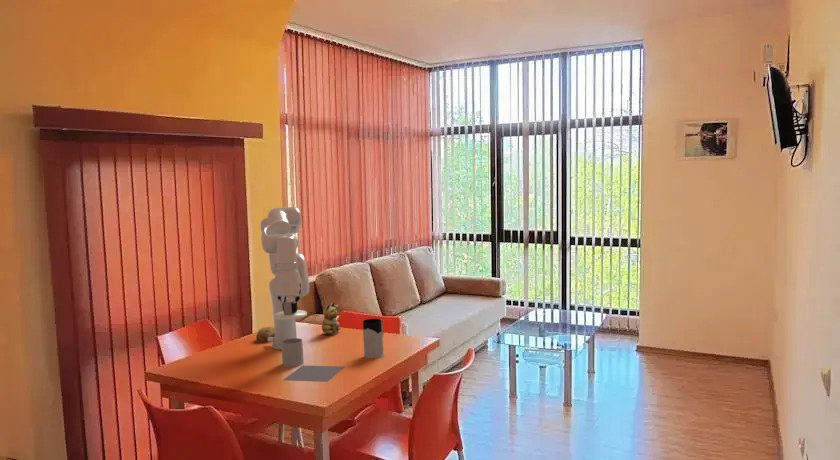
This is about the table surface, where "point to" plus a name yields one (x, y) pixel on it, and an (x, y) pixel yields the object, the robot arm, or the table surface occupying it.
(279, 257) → the robot arm
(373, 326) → the glass holder
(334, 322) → the decorative figurine
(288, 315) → the lid
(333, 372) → the mat
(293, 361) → the cup
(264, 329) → the bread roll
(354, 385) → the table surface
